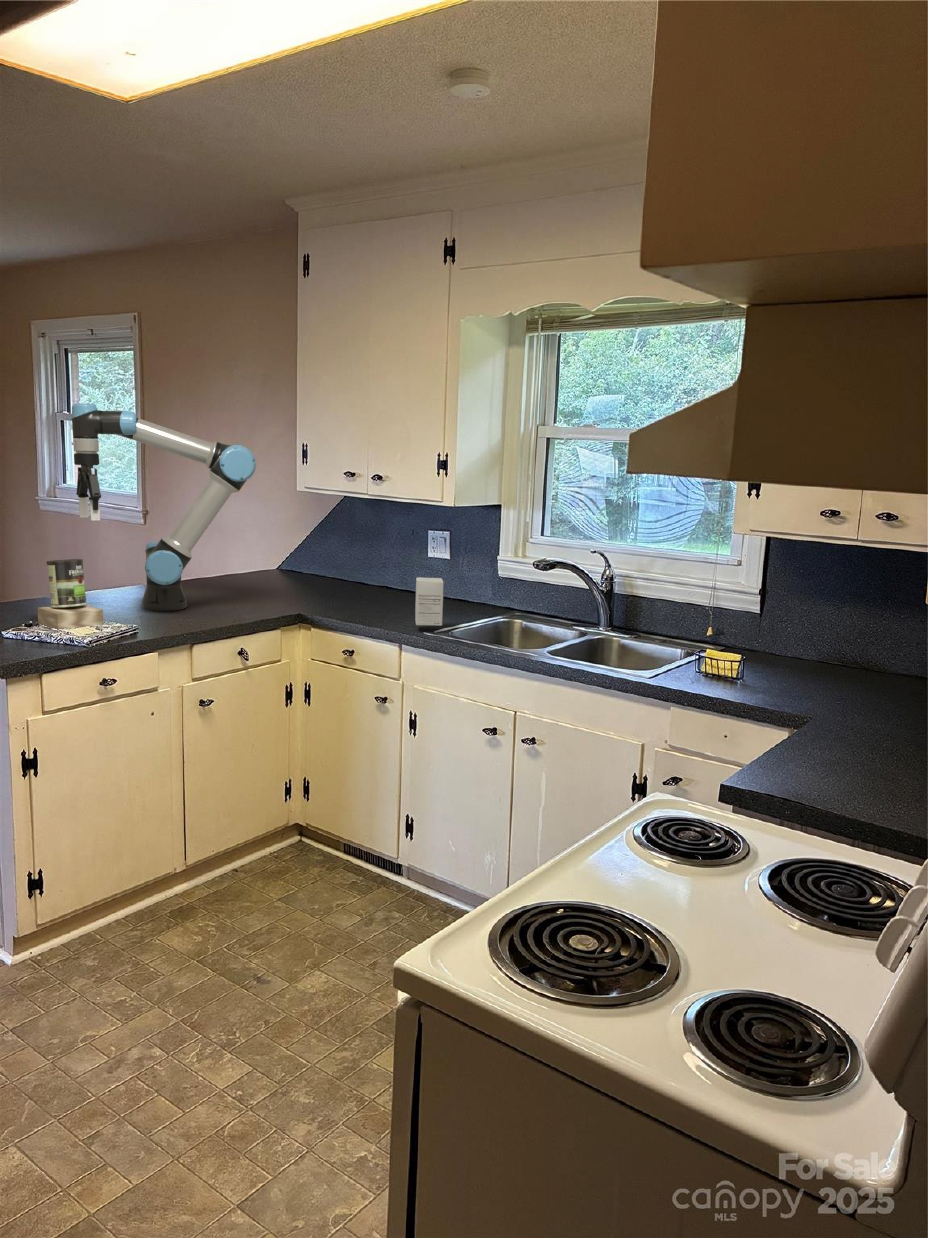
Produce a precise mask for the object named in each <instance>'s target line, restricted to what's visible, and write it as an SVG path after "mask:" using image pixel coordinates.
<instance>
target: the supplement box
mask: <svg viewBox="0 0 928 1238" xmlns="http://www.w3.org/2000/svg"><path fill="white" fill-rule="evenodd" d="M415 580H416V581H415V604H414V605H415V606H414V607H415V608H414V609H415V610H414V611H415V612H414V613H415V616H414V617H415V618H414V620H415V625H416V626H443V612H444V611H443V610H444V609H443V608H444V580H443V578H441V577H419V576H418V577H416V579H415Z"/></svg>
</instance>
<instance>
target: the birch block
mask: <svg viewBox="0 0 928 1238" xmlns="http://www.w3.org/2000/svg"><path fill="white" fill-rule="evenodd" d="M104 623H105V622H104V609H102V608H98V607H95V606H92V605H89V604H86V605H83V606H75V607H60V608H53V607H51V606H41V607H37V625H38V624H41V625H44V626H47V627H49V628H55V629H57V630H59V629H64V628H75V627H84V626H94V625H104Z"/></svg>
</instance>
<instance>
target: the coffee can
mask: <svg viewBox="0 0 928 1238" xmlns="http://www.w3.org/2000/svg"><path fill="white" fill-rule="evenodd" d="M83 561H84V559H82V558H74V559H73V558H72V559H57V560H53V559H52V560H47V561H46V567H47V568H46V569H47V576H48V577H47V578H48V586H49V587H48V588H49V596H50V598H49V599H50V607H53V608H60V607H75V606H83V605H88V604H87V597H86V596H87V595H86V584H85V575H84V574H85V573H84V564H83V563H84V562H83Z"/></svg>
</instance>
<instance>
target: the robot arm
mask: <svg viewBox="0 0 928 1238" xmlns="http://www.w3.org/2000/svg"><path fill="white" fill-rule="evenodd" d="M71 428H72V439H73V441H72V442H71V445H72V446H73V451H74V453H73V463H74V465H75V466H78V467H77V481H76V482H77V483H76V492H75V493H76V494H75V495H76V496H77V497H78V509H79V510H78V511H79V513H78V514H79V518H80V519H81V518H83V519H84V518H89V517H90V522H91V521H92V522H93V521H101V510H100V499H101V498H102V493H101V488H100V484H99V477H98V469H97V467H96V468H94V466H99V465H100V454H99V452H100V446H99V445H100V444H99V435H115V436H119V437H123V438H127V439H129V440H133V441H135V442H138V443H141V444H144V445H148V446H150V447H153V448H155V449H156V448H157V449H159V450H163V451H164V452H168V453H171V454H175V455H177V456H179V457H183V458H187V459H189V460H192V461H195V462H198V463H201V464H203V465H206V468H208V469H210V470H209V479H208V481H206V483H205V484H204V486H203V487H202V489H201V490H200V492H199V493H198V494H197V496H196V498H194V500H193V502H192V503H191V505H190V506H189V507H188V509H187V510H186V512H185V513H184V514H183V515H182V517H181V519H179V521H178V522H177V524H176V526H175V527H174V529H173V530H172V531H171V532H170V534H169V535H168V536H163V537H161V539H159V541H158V542H157V541H156V542H153V541H152V542H147V543H146V545H145V549H144V551H145V563H144V570H145V574H146V587H145V590H144V593H143V597H142V600H141V608H142V609H143V610H146V611H154V612H159V611H160V612H168V611H169V612H170V611H180V610H184V608H185V609H187V608H186V607H188V604H187V603H188V602H187V598H186V595H185V592H184V589H183V587H182V574H183V571H184V569H185V568H186V566H187V565H188V564H189V562H190V561H191V560H192V557H193V555H192V550H193V548H194V547H195V546H196V544H197V543H198V541H199V540H200V539H201V537H202V536H203V535H204V533H205V531H207V529H208V527H210V525H211V524H212V522H213V521H214V520H215V518H216V516H217V515H218V513H219V512H220V511H221V509H222V508H223V506H224V505H225V503H226V502H227V501H228V499H229V498H230V496H231V495H232V494H233V493H239V492H240V491H241V489H242V488H243V486H244V485H245V484H246V482H247V481H248V480H249V479H250V478H251V477H252V476H253V475H254V473H255V472H256V467H257V461H256V458H255V455H254V453H253V452H252V451H251V450H250V449H249V448H248V447H246V446H244V445H239V444H233V445H231V444H226V443H225V444H224V443H221V442H218V441H213V442H210V441H207V440H205V439H201V438H199V437H194V436H192V435H189V434H185V433H183V432H180V431H177V430H174V429H171V428H168V427H165V426H162V425H159V424H156V423H154V422H150V421H148V420H145V419H141V418H138V417H137V414H136V412H135V411H129V410H101V409H98V407H97V405H96V404H95V403H84V402H83V403H82V402H81V403H79V402H78V403H74V404H72V406H71ZM79 466H80V467H79ZM89 511H90V514H89Z"/></svg>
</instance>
